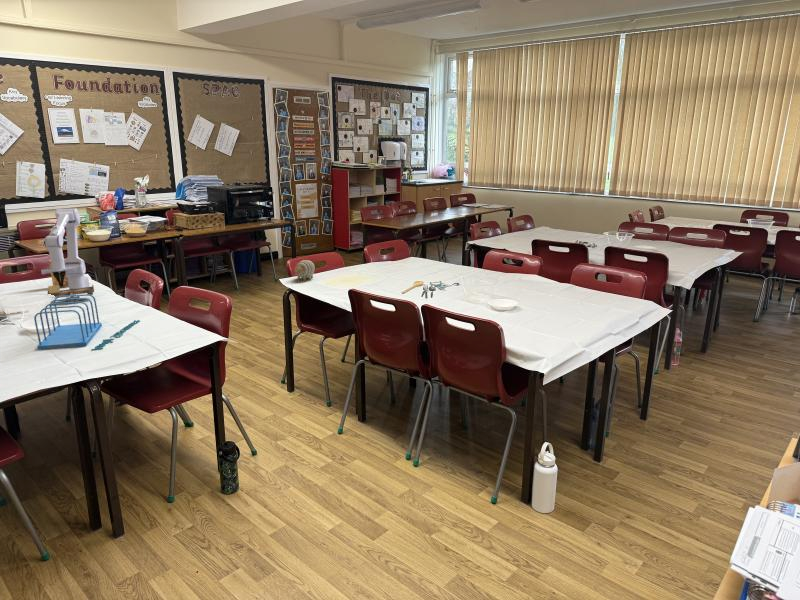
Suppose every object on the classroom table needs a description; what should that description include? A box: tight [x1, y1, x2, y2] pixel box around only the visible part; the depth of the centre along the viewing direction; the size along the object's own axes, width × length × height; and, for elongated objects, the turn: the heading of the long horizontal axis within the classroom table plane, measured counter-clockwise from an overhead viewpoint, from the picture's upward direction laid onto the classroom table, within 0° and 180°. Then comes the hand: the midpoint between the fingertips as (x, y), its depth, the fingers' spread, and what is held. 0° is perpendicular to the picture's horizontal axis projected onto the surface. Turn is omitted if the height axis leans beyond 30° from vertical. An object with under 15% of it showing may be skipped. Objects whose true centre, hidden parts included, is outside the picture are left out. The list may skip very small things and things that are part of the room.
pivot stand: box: [65, 292, 81, 306], centre depth 282 cm, size 6×11×5 cm, turn 29°
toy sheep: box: [294, 259, 316, 281], centre depth 329 cm, size 11×17×11 cm, turn 160°
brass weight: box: [47, 284, 60, 294], centre depth 278 cm, size 4×4×4 cm
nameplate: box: [90, 319, 141, 352], centre depth 236 cm, size 37×1×5 cm
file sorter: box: [33, 293, 103, 350], centre depth 230 cm, size 25×17×15 cm
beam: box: [47, 284, 95, 298], centre depth 282 cm, size 20×6×4 cm, turn 119°
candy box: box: [48, 258, 69, 289], centre depth 308 cm, size 9×4×15 cm, turn 118°
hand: (61, 286), depth 279 cm, fingers closed
